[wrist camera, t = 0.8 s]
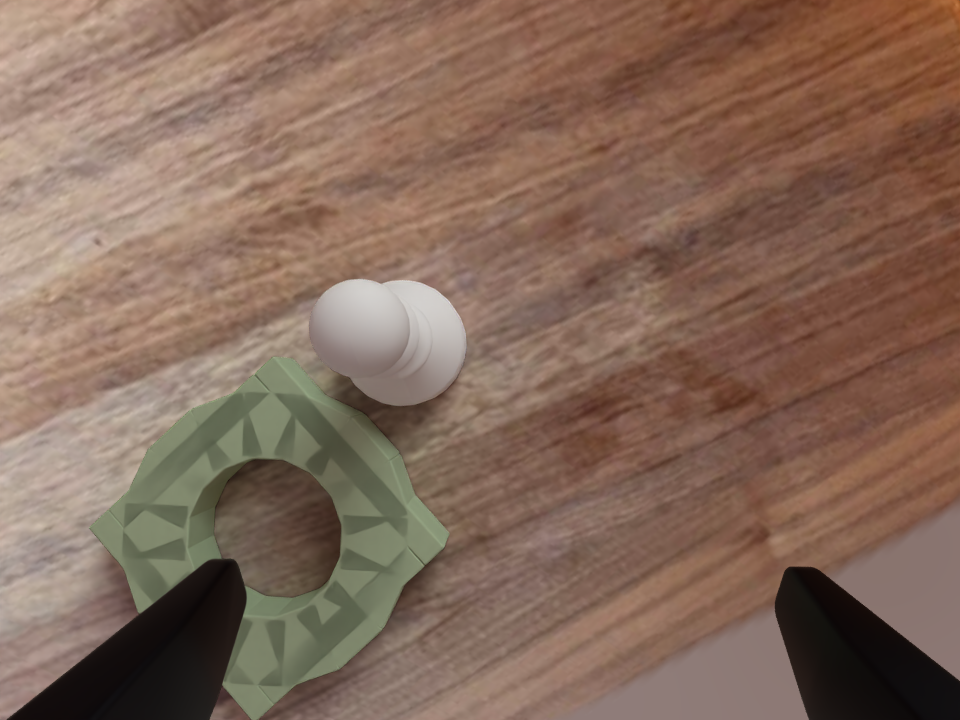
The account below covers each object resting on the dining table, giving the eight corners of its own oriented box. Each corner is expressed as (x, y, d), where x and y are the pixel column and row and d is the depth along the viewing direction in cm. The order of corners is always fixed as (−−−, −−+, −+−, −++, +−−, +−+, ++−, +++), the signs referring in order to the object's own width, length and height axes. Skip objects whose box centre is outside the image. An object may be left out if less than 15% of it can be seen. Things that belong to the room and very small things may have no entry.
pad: (274, 718, 23) (252, 750, 21) (100, 514, 24) (63, 526, 22) (474, 534, 23) (471, 549, 21) (293, 334, 24) (274, 330, 22)
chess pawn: (339, 300, 24) (236, 251, 15) (453, 274, 24) (420, 210, 15) (362, 415, 24) (272, 438, 15) (478, 391, 23) (460, 398, 14)
